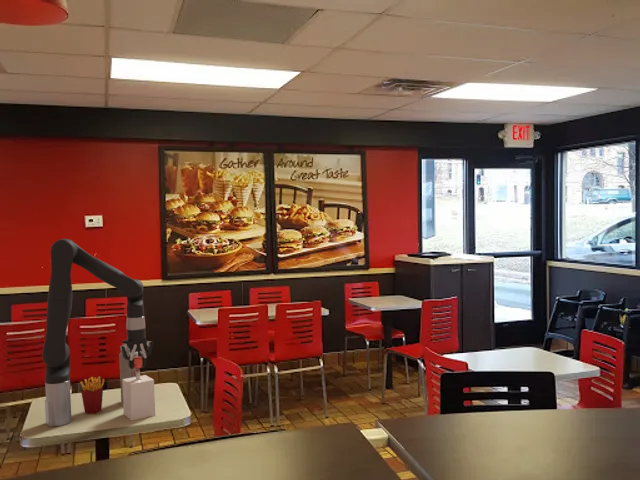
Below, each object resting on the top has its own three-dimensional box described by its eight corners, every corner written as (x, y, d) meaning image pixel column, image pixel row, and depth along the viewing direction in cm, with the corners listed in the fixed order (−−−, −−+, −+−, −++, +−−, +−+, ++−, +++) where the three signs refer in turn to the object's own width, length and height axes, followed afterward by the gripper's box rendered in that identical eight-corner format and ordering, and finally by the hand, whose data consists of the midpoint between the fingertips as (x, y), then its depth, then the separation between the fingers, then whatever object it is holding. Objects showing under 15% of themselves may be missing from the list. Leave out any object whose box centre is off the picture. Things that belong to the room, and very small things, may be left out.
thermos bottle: (143, 400, 272) (141, 339, 270) (128, 405, 265) (125, 342, 264) (132, 397, 277) (130, 337, 275) (117, 402, 270) (115, 340, 269)
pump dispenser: (131, 420, 246) (130, 384, 245) (123, 414, 254) (122, 379, 253) (155, 415, 252) (154, 379, 251) (146, 409, 260) (145, 374, 259)
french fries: (95, 414, 254) (94, 379, 254) (78, 414, 256) (76, 379, 255) (107, 408, 263) (105, 374, 262) (90, 407, 265) (88, 373, 264)
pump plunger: (135, 407, 250) (133, 359, 249) (132, 404, 253) (130, 357, 252) (146, 404, 252) (144, 357, 251) (142, 402, 256) (140, 355, 255)
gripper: (121, 331, 244) (123, 372, 245) (155, 326, 252) (157, 366, 253) (115, 328, 250) (117, 369, 251) (149, 323, 259) (151, 363, 259)
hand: (137, 367), depth 252 cm, fingers closed on pump plunger, 4 cm apart
